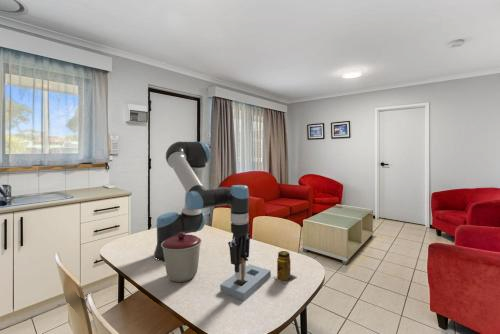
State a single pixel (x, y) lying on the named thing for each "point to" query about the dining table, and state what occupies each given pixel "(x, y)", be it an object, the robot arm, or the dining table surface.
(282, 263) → the condiment
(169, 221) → the robot arm
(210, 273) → the dining table surface
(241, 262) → the peg
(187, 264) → the canister
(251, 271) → the hole block
